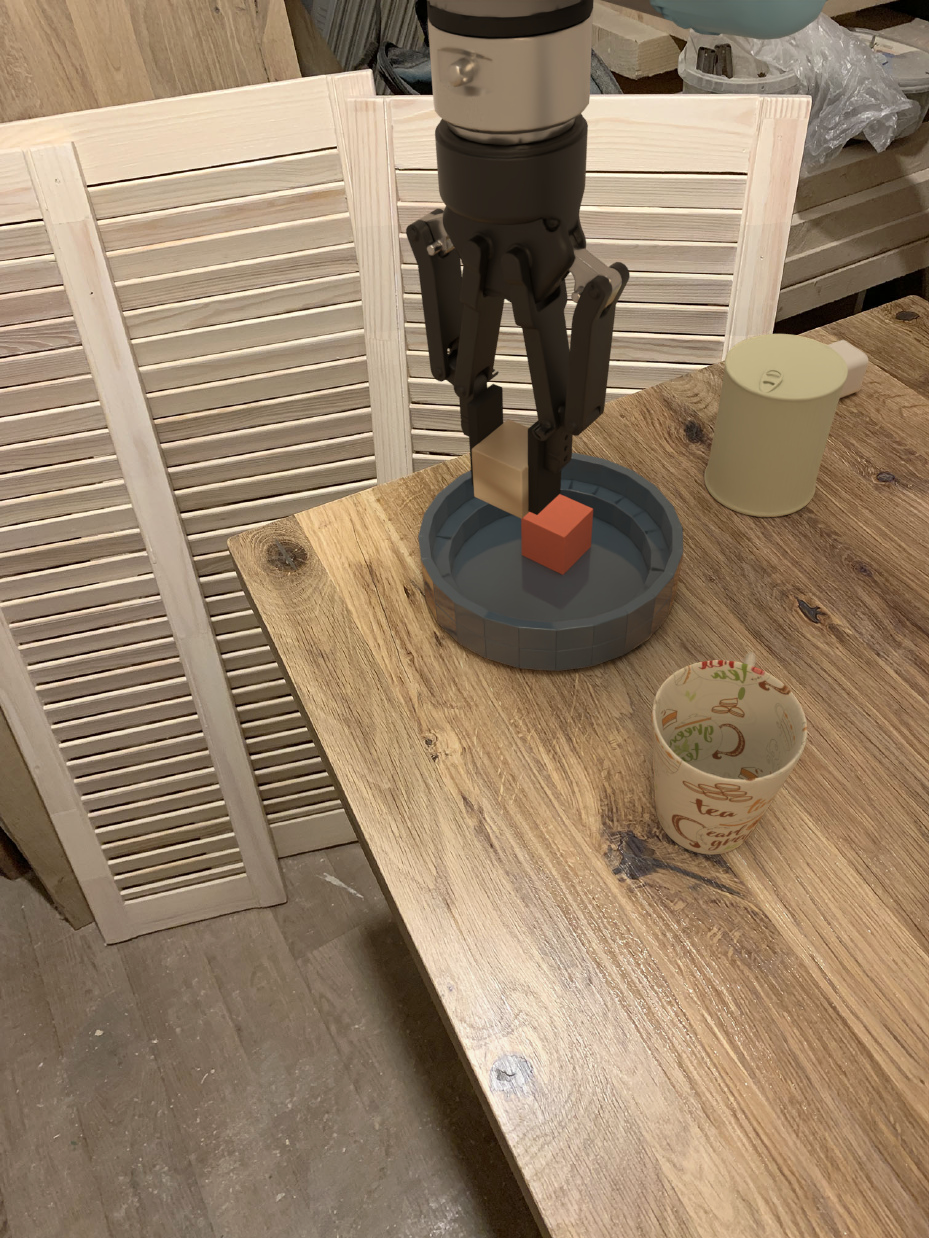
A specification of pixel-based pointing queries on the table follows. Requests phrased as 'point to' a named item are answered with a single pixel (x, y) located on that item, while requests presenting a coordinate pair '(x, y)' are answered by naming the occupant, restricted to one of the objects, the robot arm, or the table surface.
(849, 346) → the usb wall charger
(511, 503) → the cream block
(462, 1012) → the table surface
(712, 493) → the can
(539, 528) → the coral block
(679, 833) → the mug
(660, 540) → the bowl
